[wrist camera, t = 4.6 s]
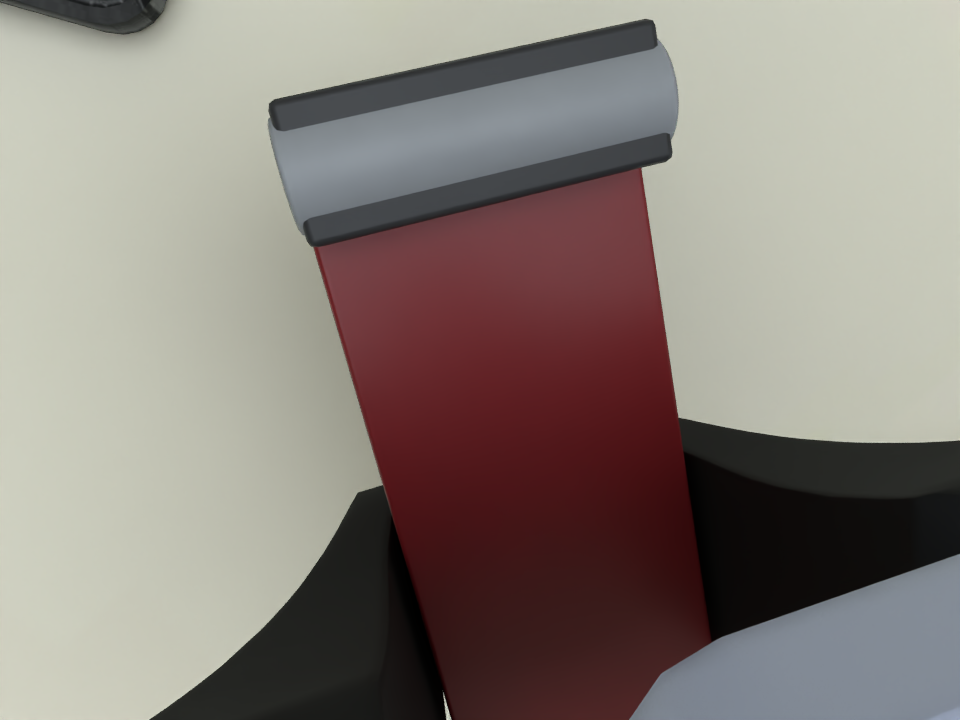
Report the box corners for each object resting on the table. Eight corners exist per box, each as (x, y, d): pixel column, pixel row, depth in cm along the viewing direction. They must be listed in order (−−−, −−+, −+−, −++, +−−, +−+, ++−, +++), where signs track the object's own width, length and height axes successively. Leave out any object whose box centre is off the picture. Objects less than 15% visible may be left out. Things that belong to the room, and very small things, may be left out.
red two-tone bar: (636, 708, 15) (795, 987, 10) (474, 766, 15) (551, 1090, 10) (516, 84, 12) (669, 10, 6) (292, 134, 11) (257, 99, 6)
